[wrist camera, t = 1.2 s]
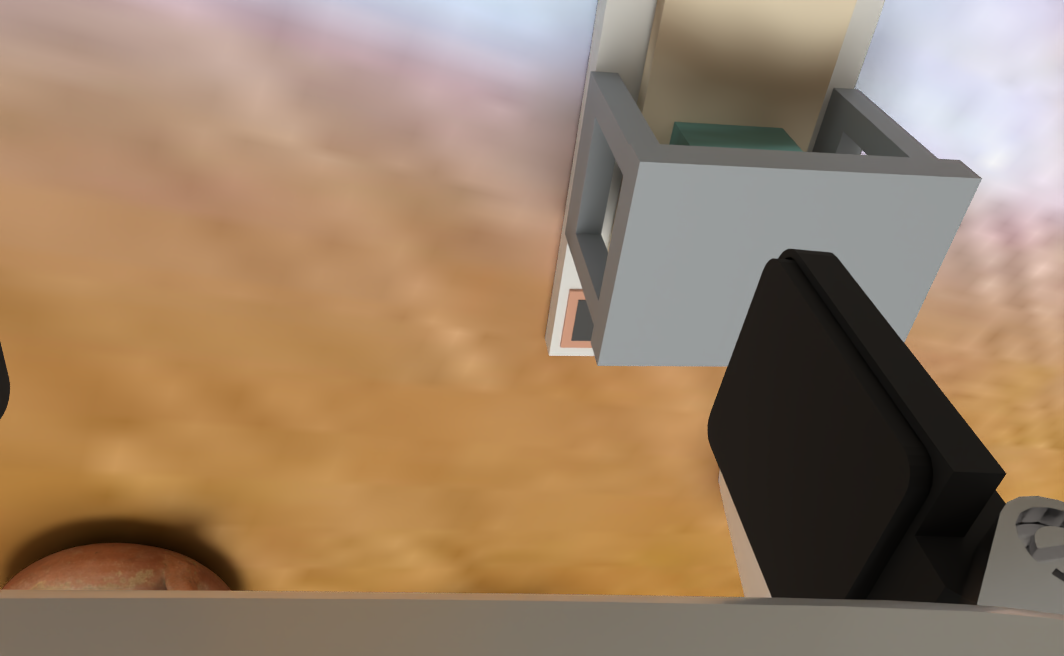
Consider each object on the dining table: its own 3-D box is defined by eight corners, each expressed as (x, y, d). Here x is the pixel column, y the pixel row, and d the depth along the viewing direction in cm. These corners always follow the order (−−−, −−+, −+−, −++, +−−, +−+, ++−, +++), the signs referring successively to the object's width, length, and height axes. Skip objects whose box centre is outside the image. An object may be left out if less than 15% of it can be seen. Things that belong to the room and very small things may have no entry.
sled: (709, -264, 29) (797, -249, 23) (919, -233, 31) (1057, -212, 24) (606, 256, 42) (645, 358, 35) (759, 260, 43) (823, 359, 37)
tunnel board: (702, -755, 24) (883, -1009, 15) (1100, -656, 26) (1457, -827, 17) (537, 338, 46) (571, 489, 38) (757, 340, 49) (837, 483, 40)
